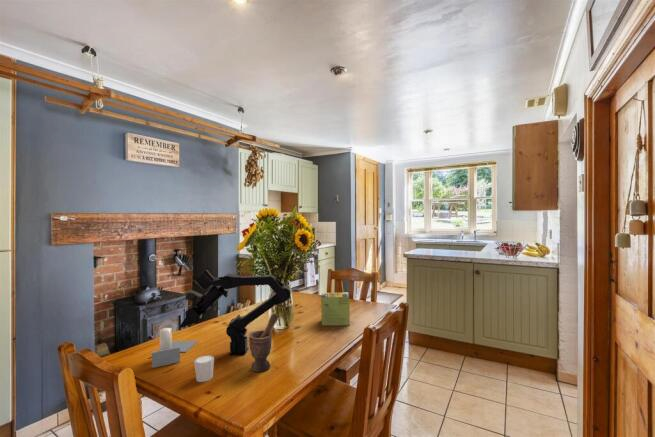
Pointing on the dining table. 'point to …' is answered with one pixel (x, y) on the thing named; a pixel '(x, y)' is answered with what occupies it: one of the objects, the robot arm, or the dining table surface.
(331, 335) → the dining table surface
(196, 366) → the shot glass
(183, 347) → the slate mat
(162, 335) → the white rounded cylinder
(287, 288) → the robot arm
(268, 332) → the mortar and pestle
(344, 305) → the protein box
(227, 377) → the dining table surface
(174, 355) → the screen
